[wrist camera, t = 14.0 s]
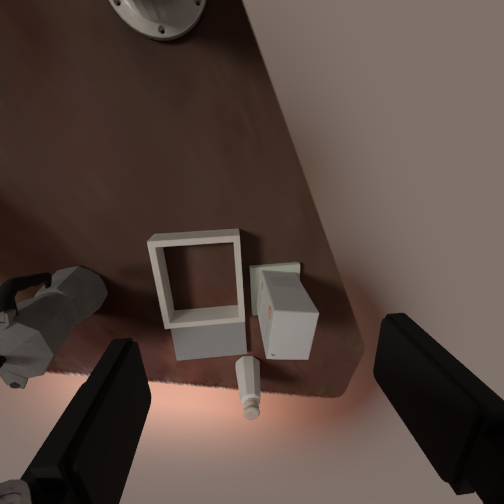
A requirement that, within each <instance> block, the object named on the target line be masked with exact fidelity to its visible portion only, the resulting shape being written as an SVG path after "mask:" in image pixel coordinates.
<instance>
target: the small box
mask: <svg viewBox="0 0 504 504" xmlns="http://www.w3.org/2000/svg"><path fill="white" fill-rule="evenodd" d="M256 308H257V313H258V318H259V322H260V328H261V333H262V339H263V344H264V349H265V354H266V359H297V360H303V359H305V360H308V359H309V356H310V351H311V347H312V343H313V338H314V334H315V330H316V325H317V321H318V317H319V312H318V310H317V309H316V307H315V305H314V304H313V302H312V300H311V299H310V297H309V295H308V294H307V292H306V290H305V289H304V287H303V285H302V284H301V282H300V280H299V279H298V277H297V275H296V274H295V272H285V271H269V270H261V276H260V283H259V290H258V298H257V307H256Z"/></svg>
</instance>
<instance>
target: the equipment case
mask: <svg viewBox="0 0 504 504" xmlns="http://www.w3.org/2000/svg"><path fill="white" fill-rule="evenodd" d="M226 242H234V254H235V267H236V281H237V294H238V305H232V306H221V307H209V308H197V309H186V310H174V305H173V299H172V294H171V288H170V283H169V277H168V272H167V267H166V261H165V256H164V250H163V247H168V246H182V245H197V244H211V243H226ZM147 245H148V250H149V254H150V259H151V264H152V269H153V274H154V279H155V284H156V288H157V293H158V298H159V303H160V308H161V313H162V318H163V322H164V327H165V329H170V328H171V333H172V338H173V343H174V348H175V353H176V358H177V361H178V360H188V359H198V358H209V357H219V356H229V355H239V354H247V347H246V331H245V311H244V295H243V280H242V264H241V248H240V234H239V229H224V230H209V231H194V232H179V233H163V234H154V235H153V236H152V237H151V238H150V239H149V240H148V241H147Z"/></svg>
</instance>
